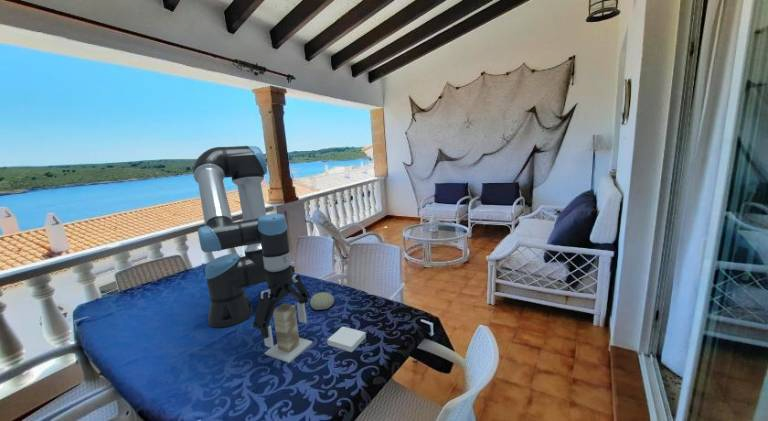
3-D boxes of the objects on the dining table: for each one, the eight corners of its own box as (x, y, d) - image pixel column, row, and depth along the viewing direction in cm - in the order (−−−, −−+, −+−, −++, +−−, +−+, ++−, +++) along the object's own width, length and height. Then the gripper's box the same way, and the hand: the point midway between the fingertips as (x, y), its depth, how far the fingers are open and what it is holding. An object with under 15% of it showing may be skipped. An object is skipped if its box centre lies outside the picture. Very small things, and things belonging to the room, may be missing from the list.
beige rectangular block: (289, 353, 89) (283, 312, 86) (278, 349, 91) (272, 310, 88) (299, 344, 93) (294, 305, 90) (289, 341, 95) (284, 303, 92)
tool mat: (264, 354, 90) (264, 352, 90) (289, 336, 98) (289, 334, 98) (289, 363, 85) (289, 361, 85) (312, 343, 94) (312, 341, 94)
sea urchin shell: (331, 307, 112) (315, 293, 112) (318, 320, 114) (303, 306, 114) (339, 296, 121) (325, 282, 121) (327, 308, 123) (313, 295, 123)
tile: (327, 339, 92) (351, 346, 88) (342, 326, 99) (365, 332, 95) (327, 346, 92) (351, 353, 88) (343, 332, 99) (366, 338, 95)
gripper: (250, 286, 74) (262, 362, 78) (316, 254, 96) (323, 315, 100) (231, 282, 78) (243, 354, 82) (298, 252, 100) (306, 311, 103)
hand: (287, 333), depth 91 cm, fingers open, 13 cm apart
